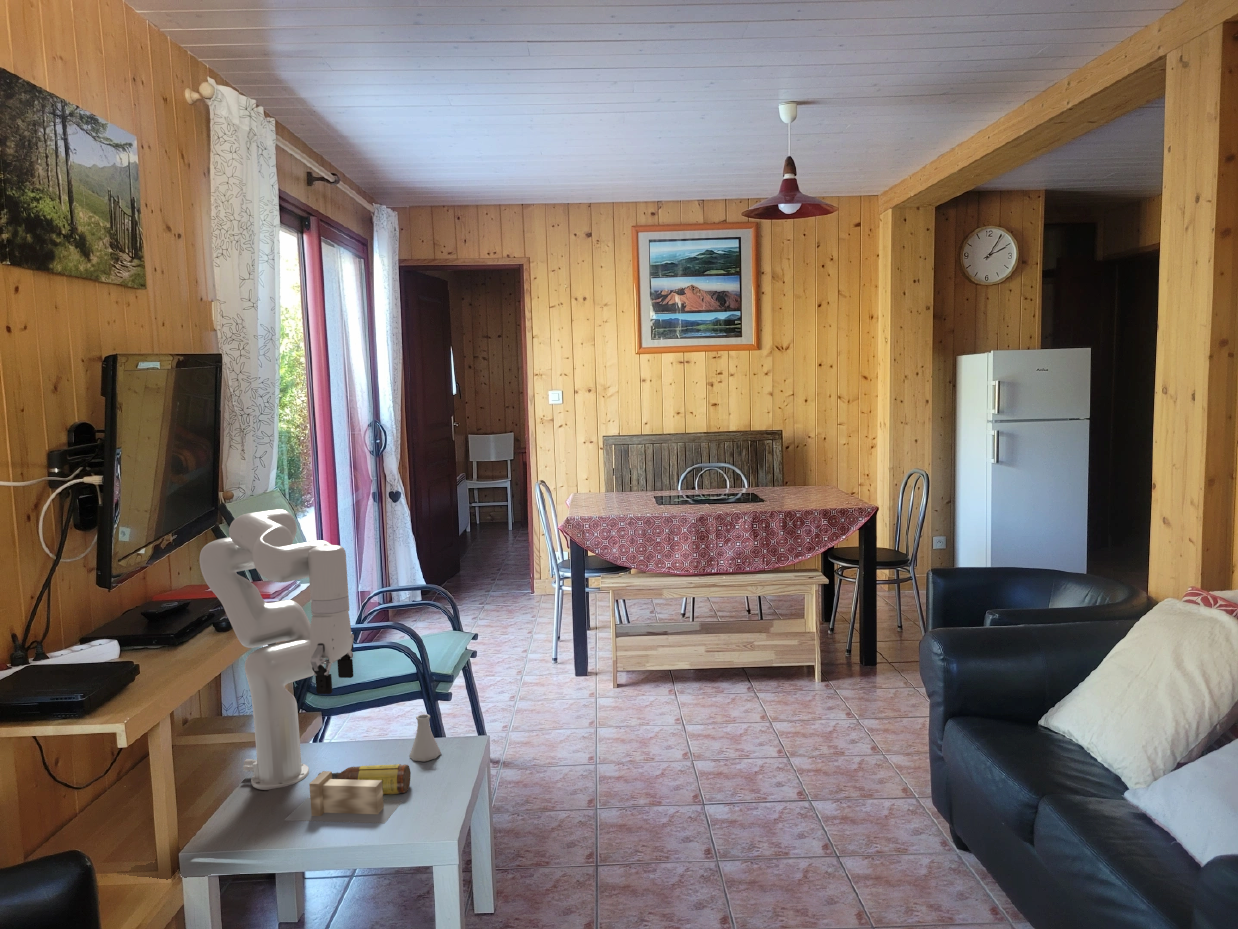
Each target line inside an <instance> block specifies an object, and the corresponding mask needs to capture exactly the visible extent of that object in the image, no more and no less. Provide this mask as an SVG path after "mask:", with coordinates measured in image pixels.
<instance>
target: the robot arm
mask: <svg viewBox="0 0 1238 929" xmlns="http://www.w3.org/2000/svg"><path fill="white" fill-rule="evenodd" d="M297 529H298V528H297V523H296V519H295V518H294V516H293V515H292V513H290V512H289V511H287V510H285V509H281V508H278V509H270V510H269V509H268V510H262V511H254V512H247V513H244V514H241V515H239V516H237V517H236V518H234V519H233V520H232V522H231V523H230V525H229V527H228V534H229V536H228V537H223V538H218V539H215V540H213V541H210V542H208V543H207V544H206V545H204V546H203V547H202V549H201V550H200V553H199V566H200V571H201V573H202V577H203V579H204V581H205V583H206V585H207V586H208V588H209V589H210V590H211V592H213V594H214V595H215V596H216V597H217V599H218V600H219V602H220V603H221V605H222V606H223V607H222V608H223V609H224V611H225V614H226V616H227V619H228V620H229V622H230V625H231V628H232V629H233V631H234V633H235V636H236V638H237V640H238V641H239V643H240V644H241V645H242V646H243V647H244V648H248V649H252V648H257V649H256V650H253V651H252V652H250V654H249V655H248V656H247V657H246V659H245V662H244V672H245V675H246V676H245V677H246V679H247V683H248V687H249V692H250V697H251V704H252V715H253V716H252V717H253V724H254V725H253V726H254V727H253V728H254V738H255V753H256V759H251V758H247V759H245V760H244V762H243V768H242V771H243V772H252V773H253V775H252V777H250V778H251V780H250V783H251V786H252V787H253V788H255V789H257V790H262V791H263V790H264V791H269V790H271V789H272V790H273V789H279V788H280V789H281V788H285V787H288V786H291V785H294V784H296V783H299V782H301V781H302V780H304V779H305V778H307V776H308V775H309V773H310V768H309V766H308V765H307V764H305V763H302V753H301V740H300V739H301V738H300V727H299V726H300V725H299V715H298V703H297V699H296V698H295V696H294V695H293V693H291V692H290V691H289V690H288V689H287V688H286V685H289V684H290V683H293V682H296V681H299V680H304V679H306V678H310V677H312V676H314V677H315V688H316V689H315V690H316V691H315V692H316V694H318V695H331V694H332V693H333V682H332V681H333V680H332V674H331V673H330V671H331V668H332V664H334V663H337V674H338V675H337V676H338V678H340V679H342V678H344V679H348V678H349V679H351V678H354V664H353V658H354V653H353V649H354V638H355V635H354V634H353V633H352V625H351V618H350V613H349V612H350V598H349V597H350V594H349V585H348V584H349V580H348V569H347V568H348V566H347V552H346V550H345V548H344V547H343V546H341V545H337V544H331V543H330V542H328V541H326V540H323V539H322V540H321V539H319V540H318V539H317V540H312V541H306V542H304V541H303V542H299V543H294V539H295V538H296V534H297ZM293 543H294V544H293ZM253 569H256V571H257V572H258V574H259V575H261V576H262V577H263V578H265V579H267V580H270V581H271V582H274V583H289V582H294V581H298V580H302V579H307V578H308V580H309V594H310V595H309V596H310V607H311V609H310V610H311V615H312V616H311V620H310V619H309V618H308V616H307V613H306V612H305V610H304V609H303V607H302V606H301V605H300V604H299V603H298V602H296V601H295V600H293V599H283V600H279V601H278V600H277V601H273V602H266V601H265V600H264V598H263V597H262V595H261V593H260V590H259V589H258V587H257V586H256V584H254V583H252V582H251V581H250V580H249V579H247V578H245V577H244V576H242V575H240V574H238V573H237V572H243V571H248V570H253Z"/></svg>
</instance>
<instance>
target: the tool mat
mask: <svg viewBox="0 0 1238 929" xmlns="http://www.w3.org/2000/svg"><path fill="white" fill-rule="evenodd" d="M403 801H404V800H403V799H402V800H401V799H400V800H399V799H383V805H384V808H383V809H382V810H381V811H380V812H379V814H350V813H323V814H322V815H321V816H312V814H311V800H310V797H307V798H305V799H304V801H303V802H302V803H300V804H299V805H298V806H297V807H296V808H295V809H294V810H293V811H292V812H291V813H290V814H289V815H288V816H287V817H286V818H285V819H284V821H290V822H291V821H292V822H294V821H298V822H323V823H325V822H328V823H354V824H355V823H356V824H357V823H358V824H363V823H364V824H386V822H387V821H388V820H389V819H390V818H391V816H392V815H393V814H394V812H396V811H397V809H398V807H399V806H400V805H401V804H402V803H403Z"/></svg>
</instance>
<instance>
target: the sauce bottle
mask: <svg viewBox="0 0 1238 929" xmlns="http://www.w3.org/2000/svg"><path fill="white" fill-rule="evenodd" d="M320 773H321V772H319V773H318V774H317V776H318V775H319V774H320ZM332 779H349V780H382V790H383V795H400V794H405V793H407V792H408V791H409V789H410V785H411V768H410V765H409V764H401V763H400V764H399V763H398V764H397V763H395V764H376V765H360V766H350V767H347V768H346V769H344V770H341V771H340V772H332Z"/></svg>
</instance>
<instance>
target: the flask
mask: <svg viewBox="0 0 1238 929" xmlns="http://www.w3.org/2000/svg"><path fill="white" fill-rule="evenodd" d="M430 719H431V715H430V714H428V713H427V714H426V713H424V714H423V713H422V714H419V715H417V716H416V717H415V720H417V728H416V734H415V737H414V740H413V744H412V746H411V750H410V752H409V755H408V756H409V758H410V759H411V760H413V761H414V762H415V761H416V762H424V763H425V762H428V761H431V760H434V759H437V758H438V757H439V756H440V755H441V754H442V752H441V749H440V747H439V745H438V743H437V741H436V739H435V737H434V734H433V732H432V728H431V723H430Z"/></svg>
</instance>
